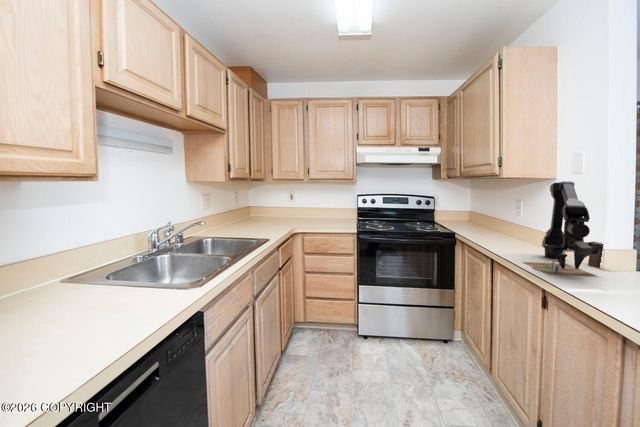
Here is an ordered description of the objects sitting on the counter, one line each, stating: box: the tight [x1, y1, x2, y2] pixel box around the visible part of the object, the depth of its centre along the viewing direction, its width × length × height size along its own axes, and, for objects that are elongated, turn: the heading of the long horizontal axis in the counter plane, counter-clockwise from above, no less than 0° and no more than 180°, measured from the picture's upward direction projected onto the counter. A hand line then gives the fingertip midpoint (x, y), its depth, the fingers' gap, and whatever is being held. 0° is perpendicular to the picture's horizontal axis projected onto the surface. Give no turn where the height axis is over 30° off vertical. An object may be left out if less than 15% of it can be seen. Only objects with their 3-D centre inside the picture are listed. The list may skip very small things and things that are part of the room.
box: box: [587, 241, 605, 269], centre depth 145 cm, size 6×4×12 cm
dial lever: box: [551, 259, 560, 273], centre depth 136 cm, size 13×3×3 cm, turn 144°
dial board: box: [521, 261, 599, 278], centre depth 139 cm, size 20×21×1 cm
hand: (569, 268), depth 134 cm, fingers open, 5 cm apart
